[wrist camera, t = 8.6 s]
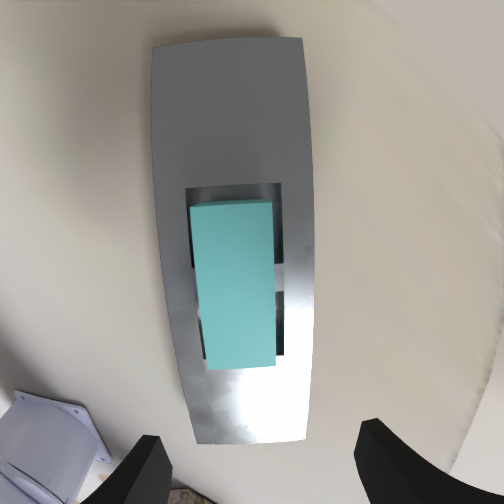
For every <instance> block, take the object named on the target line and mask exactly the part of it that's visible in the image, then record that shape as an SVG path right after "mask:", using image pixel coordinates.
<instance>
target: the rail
mask: <svg viewBox="0 0 504 504" xmlns="http://www.w3.org/2000/svg"><path fill="white" fill-rule="evenodd" d="M151 137H152V163H153V182H154V196H155V209H156V220H157V231H158V240H159V249H160V258H161V266H162V273H163V281H164V288H165V295H166V301H167V308H168V314H169V320H170V325H171V331H172V337H173V342H174V347H175V353H176V358H177V362H178V367H179V372H180V377H181V381H182V386H183V390H184V395H185V399H186V403H187V407H188V411H189V415H190V419H191V423H192V427H193V431H194V434H195V438H196V442H197V444H255V443H271V442H283V441H293V440H301V439H305V433H306V423H307V412H308V400H309V387H310V373H311V357H312V337H313V311H314V190H313V164H312V144H311V128H310V114H309V101H308V89H307V78H306V68H305V59H304V50H303V41H302V38H293V37H242V38H224V39H212V40H202V41H193V42H185V43H178V44H172V45H166V46H160V47H155V48H153V50H152V76H151ZM249 199H268V200H269V201H271V202H272V214H273V242H274V274H275V315H276V367H262V368H244V369H210V370H208V366H207V359H206V352H205V345H204V338H203V331H202V323H201V315H200V307H199V299H198V290H197V281H196V272H195V262H194V251H193V240H192V229H191V216H190V207H191V206H193V205H196V204H198V203H200V202H214V201H230V200H249Z"/></svg>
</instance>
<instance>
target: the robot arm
mask: <svg viewBox="0 0 504 504" xmlns="http://www.w3.org/2000/svg"><path fill="white" fill-rule="evenodd" d="M14 396H15V398H16V401H15V402H14V403H13V404H12V406H11V407H10V408H9V409H8V410H7V412H6V413H5V414H4V415H3V416H2V418H1V419H0V504H74V503H75V501H76V498H77V496H78V494H79V491H80V489H81V486H82V484H83V482H84V480H85V477H86V475H87V473H88V470H89V468H90V466H91V464H92V462H93V460H98V461H102V462H107V463H112V460H113V459H112V458H111V456H110V454H109V452H108V451H107V449H106V447H105V445H104V443H103V442H102V440H101V438H100V436H99V434H98V432H97V430H96V428H95V426H94V425H93V423H92V420H91V418H90V416H89V414H88V412H87V410H86V409H85V408H84V407H82V406H77V405H72V404H68V403H63V402H58V401H54V400H50V399H46V398H42V397H38V396H34V395H31V394H27V393H24V392H20V391H17V390H15V391H14ZM354 458H355V462H356V466H357V469H358V473H359V476H360V479H361V482H362V484H363V486H364V489H365V491H366V494H367V496H368V499H369V501H370V503H371V504H504V496H502V495H497V494H494V493H490V492H487V491H484V490H481V489H478V488H476V487H473V486H470V485H468V484H466V483H464V482H461V481H459V480H457V479H455V478H453V477H452V476H450V475H448V474H446V473H445V472H443V471H441V470H440V469H438V468H437V467H435V466H434V465H432V464H431V463H429V462H428V461H427V460H425V459H424V458H423V457H421V456H420V455H419V454H418V453H416V452H415V451H414V450H413V449H411V448H410V447H409V446H408V445H407V444H405V443H404V442H403V441H402V440H401V439H400V438H399V437H398V436H396V435H395V434H394V433H393V432H392V431H391V430H390V429H389V428H388V427H387V426H386V425H385V424H384V423H383V422H382V421H380V420H379V419H378V418H375V419H371V420H367V421H362V424H361V428H360V432H359V436H358V439H357V443H356V447H355V451H354ZM171 479H172V465H171V463H170V460H169V458H168V456H167V453H166V451H165V449H164V446H163V444H162V441H161V439H160V437H159V436H152V435H143V436H142V437H141V438H140V439H139V441H138V442H137V443H136V445H135V446H134V447H133V449H132V450H131V451H130V452H129V454H128V455H127V456H126V457H125V459H124V460H123V461H122V462H121V463H120V465H119V466H118V467H117V468H116V469H115V470H114V471H113V473H112V474H111V475H110V476H109V477H108V478H107V479H106V480H105V481H104V482H103V483H102V484H101V485H100V486H99V487H98V488H97V489H96V490H95V491H94V492H93V493H92V494H91V495H90V496H89V497H87V498H86V499H85V500H84V501H83V502H81V503H80V504H167V503H168V498H169V494H170V489H171Z"/></svg>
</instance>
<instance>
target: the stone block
mask: <svg viewBox="0 0 504 504" xmlns="http://www.w3.org/2000/svg"><path fill="white" fill-rule="evenodd" d="M167 504H213V503H211V502H210V501H209V500H207V499H205V498H203V497H201V496H199V495H197V494H196V493H194V492H192V491H191V490H190V489H175V490H170V494H169V498H168V503H167Z"/></svg>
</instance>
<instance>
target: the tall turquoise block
mask: <svg viewBox="0 0 504 504" xmlns="http://www.w3.org/2000/svg"><path fill="white" fill-rule="evenodd" d="M190 216H191V229H192V240H193V251H194V262H195V272H196V281H197V290H198V299H199V307H200V315H201V323H202V331H203V338H204V345H205V352H206V359H207V366H208V370H210V369H244V368H262V367H276V315H275V274H274V242H273V214H272V202H271V201H269V200H268V199H249V200H230V201H214V202H200V203H198V204H196V205H193V206H191V207H190Z"/></svg>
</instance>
